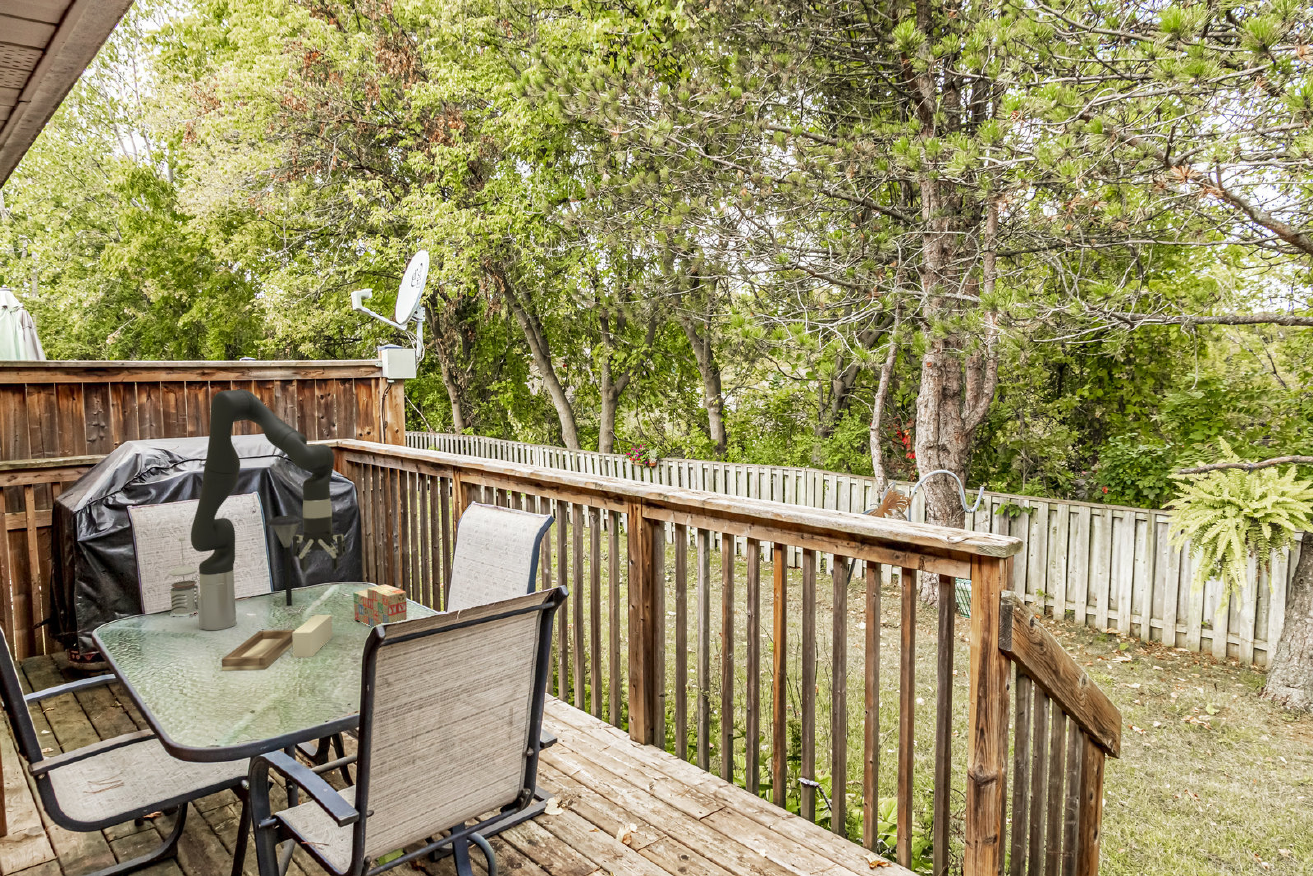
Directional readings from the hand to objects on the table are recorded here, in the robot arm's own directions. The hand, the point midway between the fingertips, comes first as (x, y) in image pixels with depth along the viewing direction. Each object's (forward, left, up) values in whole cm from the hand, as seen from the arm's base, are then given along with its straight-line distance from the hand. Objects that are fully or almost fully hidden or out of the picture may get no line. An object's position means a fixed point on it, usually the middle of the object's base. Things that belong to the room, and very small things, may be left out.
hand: (320, 570), depth 225 cm
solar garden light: (-25, +40, -21) cm, 51 cm away
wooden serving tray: (-14, -8, -21) cm, 26 cm away
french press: (-54, +34, -21) cm, 68 cm away
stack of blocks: (+12, +15, -22) cm, 29 cm away
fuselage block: (-2, -3, -21) cm, 22 cm away
